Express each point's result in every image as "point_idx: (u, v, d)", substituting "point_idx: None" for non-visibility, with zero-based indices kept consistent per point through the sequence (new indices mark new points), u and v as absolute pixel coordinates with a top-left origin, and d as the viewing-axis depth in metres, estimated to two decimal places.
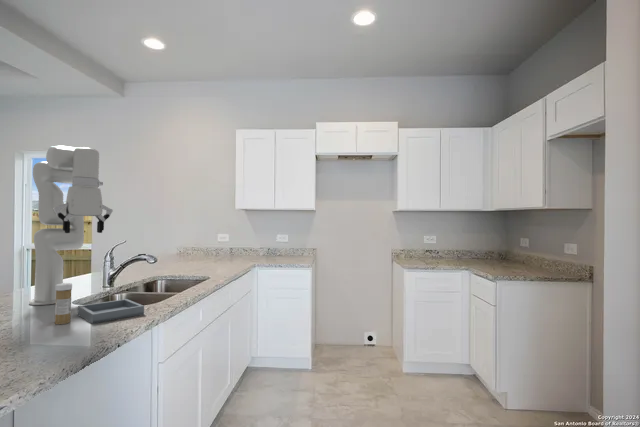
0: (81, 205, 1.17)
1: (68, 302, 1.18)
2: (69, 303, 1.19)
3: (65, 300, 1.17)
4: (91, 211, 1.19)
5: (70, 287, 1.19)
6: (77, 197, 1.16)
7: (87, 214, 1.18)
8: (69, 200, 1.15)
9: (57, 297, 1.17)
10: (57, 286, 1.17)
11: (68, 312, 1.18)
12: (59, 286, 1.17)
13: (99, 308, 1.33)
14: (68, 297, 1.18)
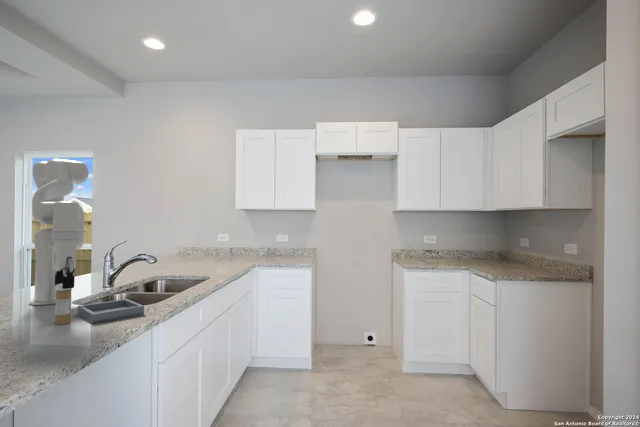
0: None
1: (68, 302, 1.18)
2: (69, 303, 1.19)
3: (65, 300, 1.17)
4: None
5: None
6: None
7: None
8: (74, 255, 1.17)
9: (57, 297, 1.17)
10: (57, 286, 1.17)
11: (68, 312, 1.18)
12: (59, 286, 1.17)
13: (99, 308, 1.33)
14: (68, 297, 1.18)
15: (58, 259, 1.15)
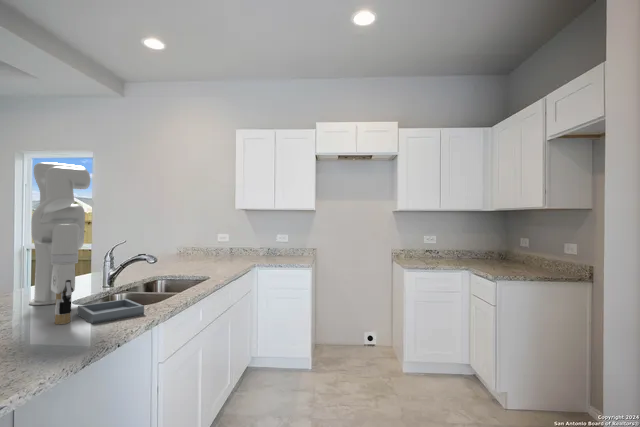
0: None
1: None
2: None
3: None
4: None
5: None
6: None
7: None
8: (73, 278, 1.17)
9: (57, 297, 1.17)
10: None
11: None
12: None
13: (99, 308, 1.33)
14: None
15: (57, 282, 1.15)
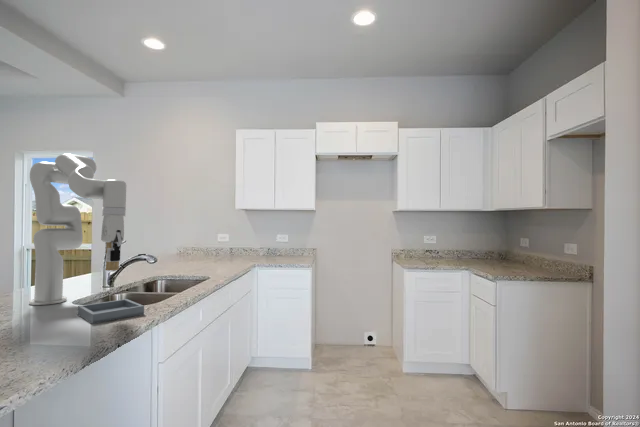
0: None
1: None
2: None
3: None
4: None
5: None
6: None
7: None
8: (122, 228, 1.29)
9: (108, 246, 1.29)
10: None
11: None
12: None
13: (99, 308, 1.33)
14: None
15: (109, 232, 1.26)
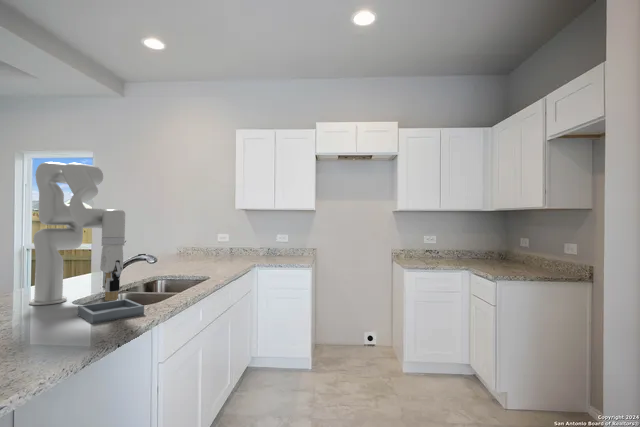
0: None
1: None
2: None
3: None
4: None
5: None
6: None
7: None
8: (122, 258, 1.29)
9: (107, 276, 1.28)
10: None
11: None
12: None
13: (99, 308, 1.33)
14: None
15: (108, 262, 1.26)
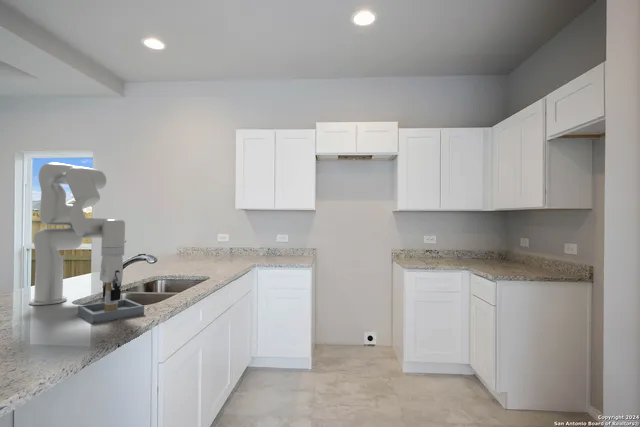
0: None
1: None
2: None
3: None
4: None
5: None
6: None
7: None
8: (121, 268, 1.28)
9: (107, 288, 1.28)
10: None
11: (116, 302, 1.30)
12: None
13: (99, 308, 1.33)
14: None
15: (107, 272, 1.26)
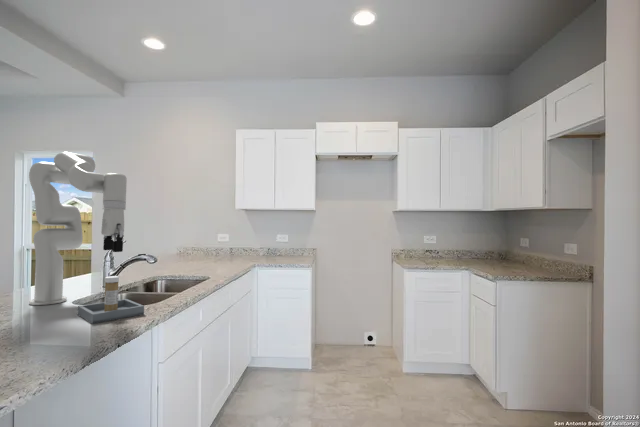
0: None
1: (115, 293, 1.29)
2: (117, 294, 1.30)
3: (113, 292, 1.29)
4: None
5: (117, 280, 1.30)
6: None
7: None
8: (123, 222, 1.29)
9: (106, 289, 1.28)
10: (106, 278, 1.28)
11: (116, 302, 1.30)
12: (108, 279, 1.28)
13: (99, 308, 1.33)
14: (116, 288, 1.30)
15: (109, 225, 1.26)
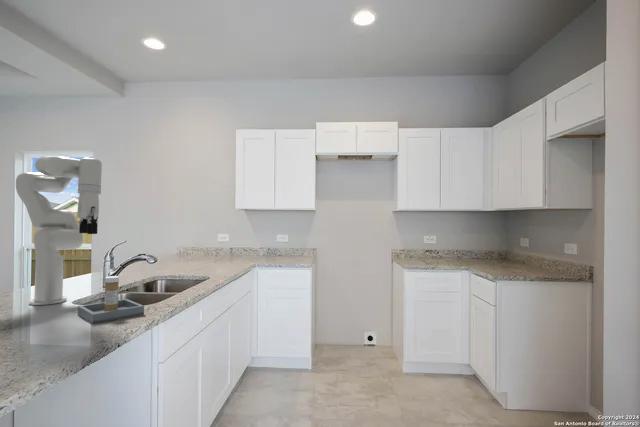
0: None
1: (116, 293, 1.29)
2: (117, 294, 1.30)
3: (113, 292, 1.29)
4: None
5: (118, 280, 1.30)
6: None
7: None
8: (97, 205, 1.33)
9: (106, 289, 1.28)
10: (106, 279, 1.28)
11: (116, 302, 1.30)
12: (109, 279, 1.28)
13: (99, 308, 1.33)
14: (116, 289, 1.30)
15: (83, 208, 1.31)
